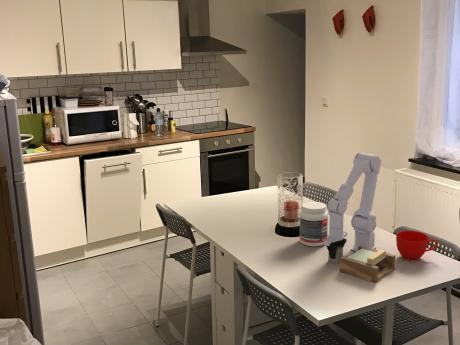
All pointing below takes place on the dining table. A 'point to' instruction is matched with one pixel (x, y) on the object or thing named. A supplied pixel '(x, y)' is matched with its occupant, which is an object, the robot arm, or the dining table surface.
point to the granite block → (338, 255)
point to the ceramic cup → (413, 244)
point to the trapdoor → (368, 256)
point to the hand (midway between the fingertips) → (335, 256)
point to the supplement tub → (313, 224)
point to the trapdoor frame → (367, 267)
